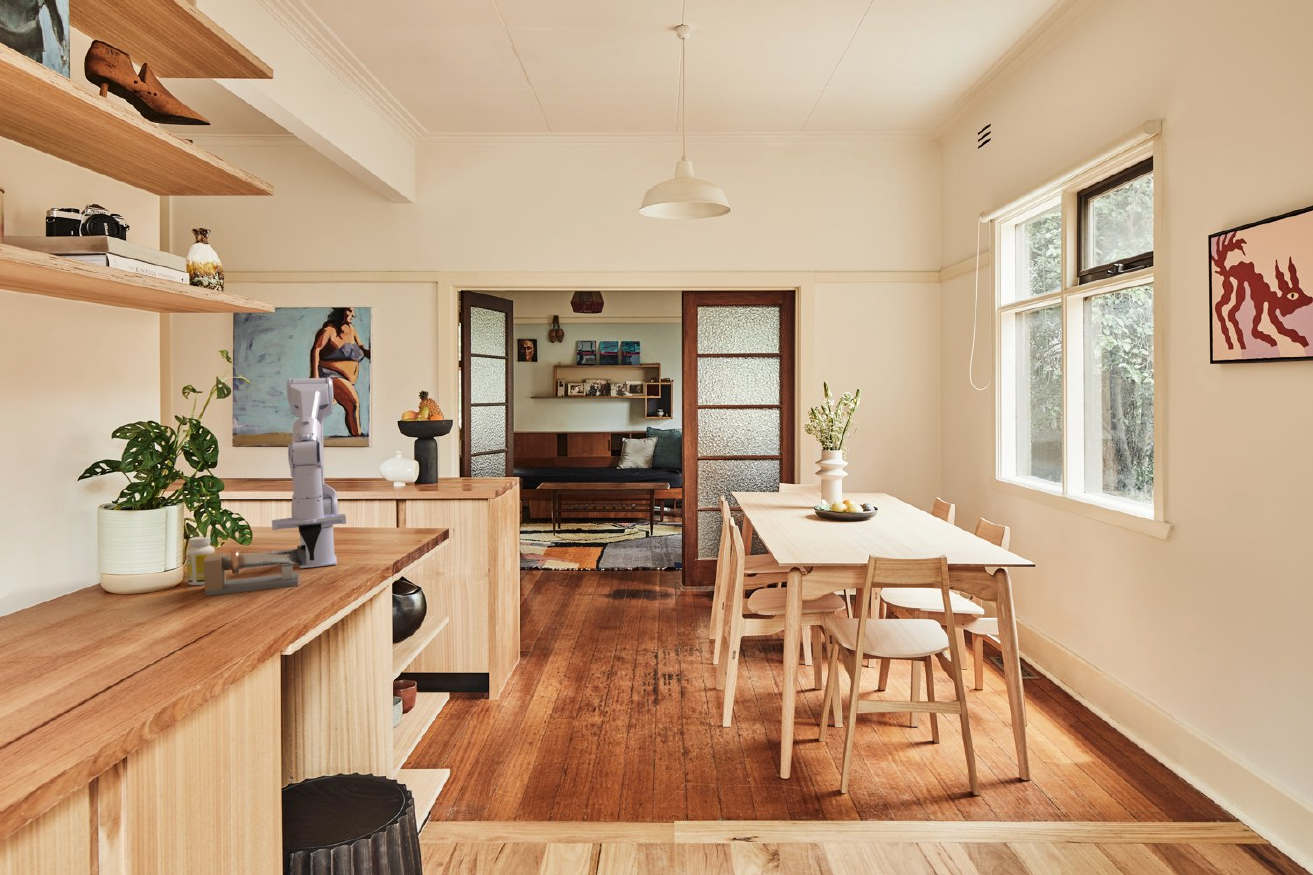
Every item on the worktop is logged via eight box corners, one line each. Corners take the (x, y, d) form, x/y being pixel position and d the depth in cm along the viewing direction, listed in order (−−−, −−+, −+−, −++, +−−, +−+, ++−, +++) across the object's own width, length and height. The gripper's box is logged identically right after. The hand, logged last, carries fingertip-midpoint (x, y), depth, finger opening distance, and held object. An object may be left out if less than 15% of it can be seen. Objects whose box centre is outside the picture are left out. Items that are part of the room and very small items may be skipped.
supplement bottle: (222, 579, 173) (219, 535, 172) (206, 586, 168) (203, 540, 167) (199, 579, 174) (196, 535, 173) (182, 585, 168) (179, 540, 168)
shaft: (225, 572, 167) (224, 549, 166) (306, 564, 173) (305, 541, 172) (223, 577, 162) (221, 553, 162) (306, 568, 168) (305, 545, 168)
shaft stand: (210, 586, 167) (208, 554, 166) (298, 577, 174) (296, 545, 173) (205, 596, 160) (203, 561, 159) (298, 585, 166) (296, 552, 166)
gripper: (269, 502, 163) (273, 567, 164) (345, 496, 169) (348, 559, 170) (271, 498, 170) (275, 560, 171) (344, 492, 175) (347, 553, 176)
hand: (311, 559), depth 171 cm, fingers closed
